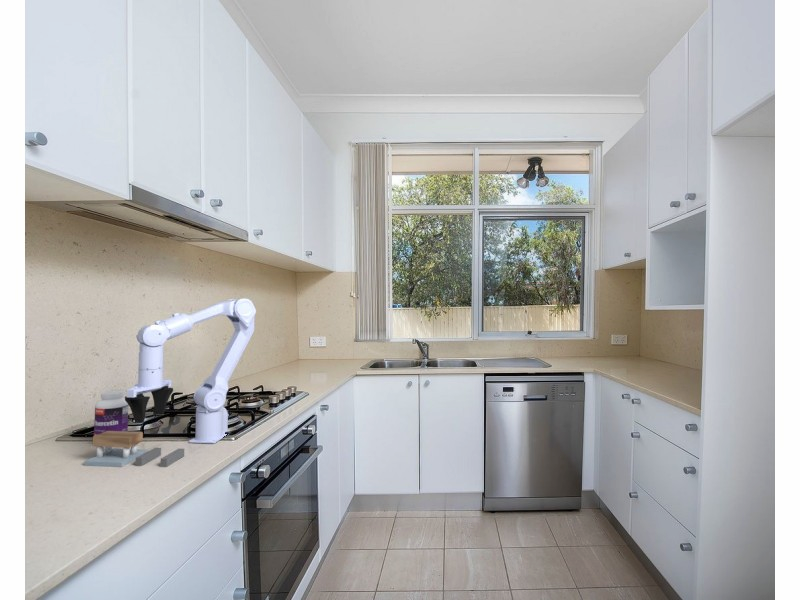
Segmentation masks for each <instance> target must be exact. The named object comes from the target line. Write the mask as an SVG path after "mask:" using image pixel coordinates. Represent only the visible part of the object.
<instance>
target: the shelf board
mask: <svg viewBox="0 0 800 600" xmlns="http://www.w3.org/2000/svg"><path fill="white" fill-rule="evenodd" d="M143 437H144V433H143V431H128V432H127V431H106V432H103V433H101V434H98V435H95V436H94V435H93V436H92V447H97V446H101V447H104V448H105V447H112V448H123V447H130V448H131V447H132V446H134V445H136V444H137V445H138V444H139V443H142V442H143V441H144V440H143V439H144V438H143Z"/></svg>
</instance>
